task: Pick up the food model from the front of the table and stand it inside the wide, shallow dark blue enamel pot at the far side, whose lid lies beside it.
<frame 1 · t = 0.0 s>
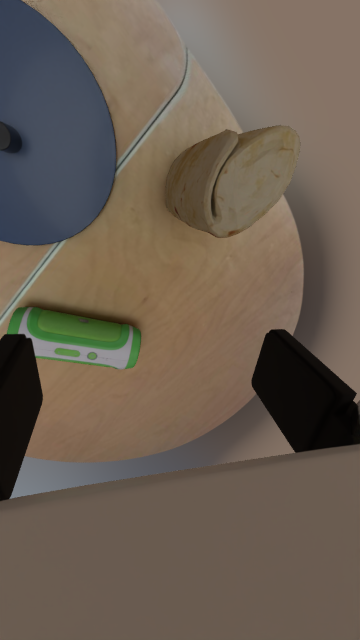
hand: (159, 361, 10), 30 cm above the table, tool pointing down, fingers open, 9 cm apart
food model: (187, 180, 35), on the table
speaker: (82, 326, 42), on the table
pot lid: (10, 140, 28), point 1 cm above the table
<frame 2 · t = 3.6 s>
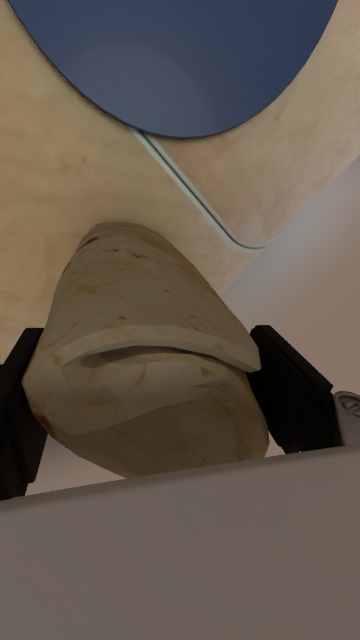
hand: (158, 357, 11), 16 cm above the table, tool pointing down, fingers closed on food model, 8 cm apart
food model: (137, 257, 24), on the table, touching gripper
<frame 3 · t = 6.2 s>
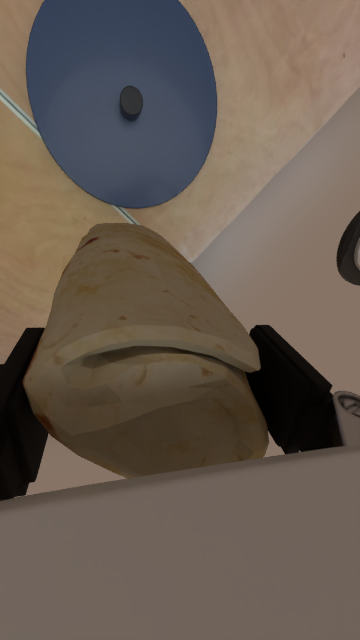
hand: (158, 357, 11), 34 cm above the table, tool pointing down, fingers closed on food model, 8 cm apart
food model: (136, 257, 24), point 18 cm above the table, touching gripper
pot lid: (129, 109, 32), point 1 cm above the table
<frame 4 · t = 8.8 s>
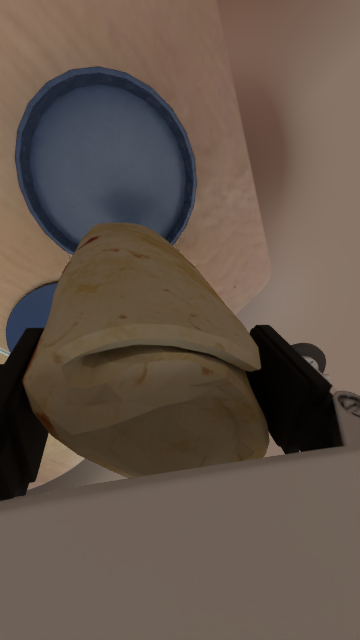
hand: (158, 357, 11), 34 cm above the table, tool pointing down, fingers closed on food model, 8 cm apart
food model: (137, 257, 24), point 18 cm above the table, touching gripper
pot: (113, 183, 36), on the table
pot lid: (79, 340, 46), point 1 cm above the table
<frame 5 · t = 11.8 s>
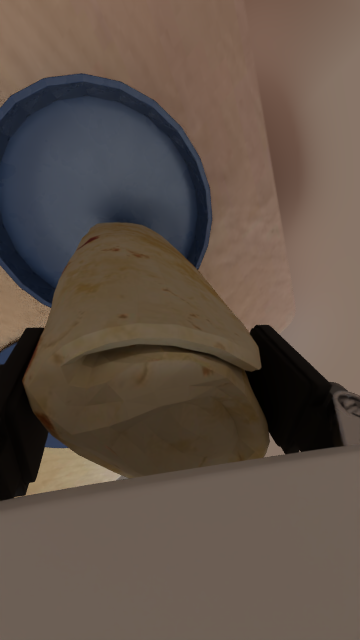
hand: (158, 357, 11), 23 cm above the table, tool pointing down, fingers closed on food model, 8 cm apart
food model: (137, 257, 24), point 8 cm above the table, touching gripper
pot: (107, 218, 29), on the table
pot lid: (68, 395, 39), point 1 cm above the table
when the fingers open (16 cm above the table, at t = 14.4 s): food model stays where it is, resting on pot.
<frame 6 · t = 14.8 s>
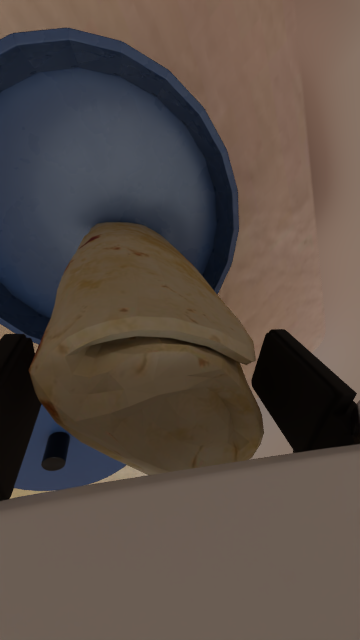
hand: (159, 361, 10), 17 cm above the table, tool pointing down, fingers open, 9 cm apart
food model: (137, 256, 24), resting on pot
pot: (104, 228, 23), on the table
pot lid: (60, 434, 33), point 1 cm above the table
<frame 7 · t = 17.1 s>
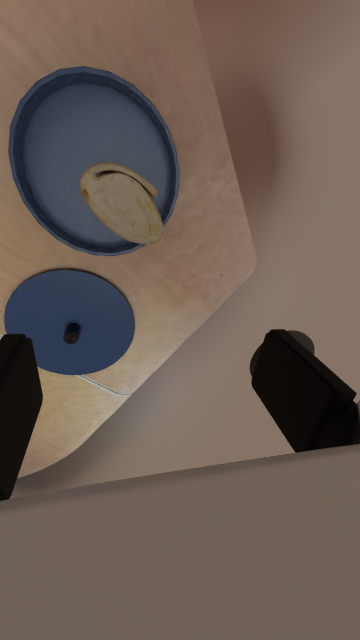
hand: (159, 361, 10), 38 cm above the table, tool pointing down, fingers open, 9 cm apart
food model: (122, 195, 40), resting on pot
pot: (102, 176, 39), on the table
pot lid: (74, 326, 49), point 1 cm above the table
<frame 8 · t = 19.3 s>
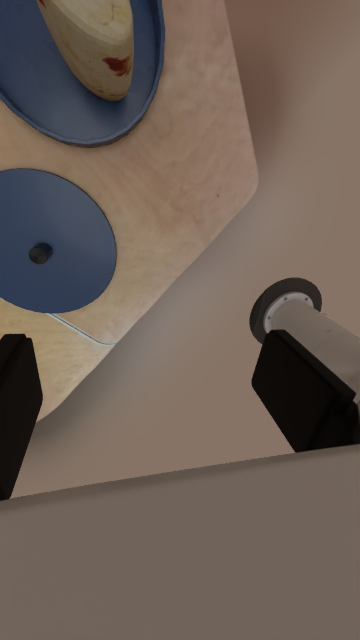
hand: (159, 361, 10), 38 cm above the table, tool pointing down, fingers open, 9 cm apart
food model: (97, 71, 33), resting on pot
pot: (72, 41, 32), on the table
pot lid: (44, 249, 42), point 1 cm above the table
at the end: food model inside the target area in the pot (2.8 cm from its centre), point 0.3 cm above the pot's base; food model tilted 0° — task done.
